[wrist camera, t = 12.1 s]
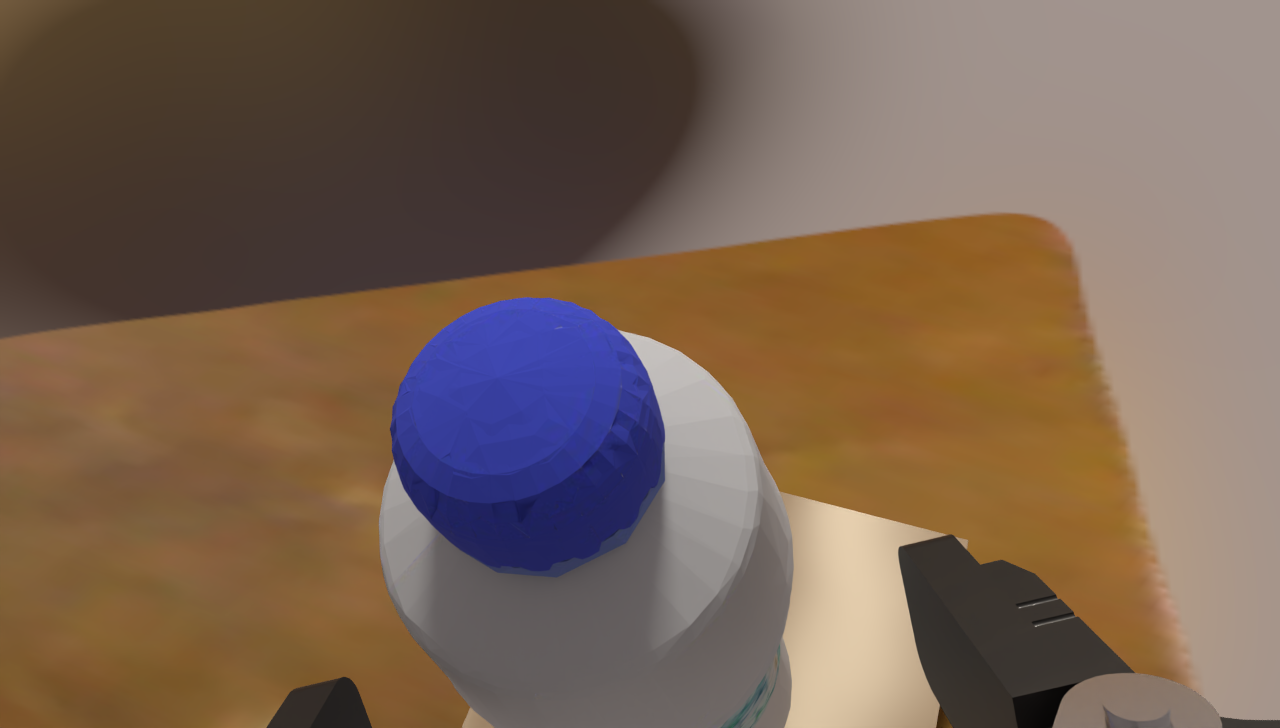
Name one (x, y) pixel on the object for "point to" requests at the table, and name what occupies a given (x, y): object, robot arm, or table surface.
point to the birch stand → (848, 623)
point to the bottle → (585, 528)
